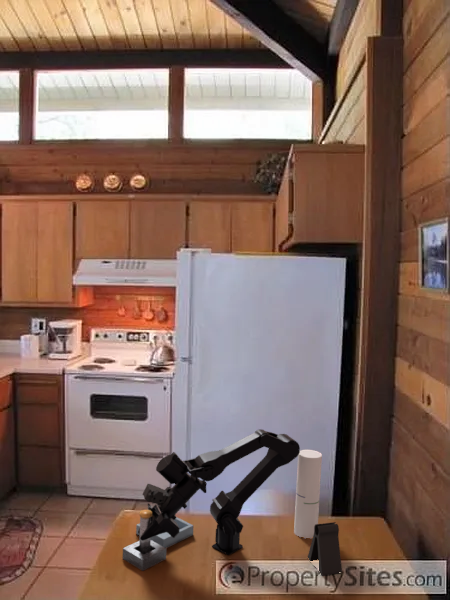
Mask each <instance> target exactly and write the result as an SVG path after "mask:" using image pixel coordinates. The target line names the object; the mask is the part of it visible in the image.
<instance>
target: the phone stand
mask: <svg viewBox="0 0 450 600" xmlns="http://www.w3.org/2000/svg"><path fill="white" fill-rule="evenodd" d="M339 531H340V528H339V524H338V523H336V521H334V522H325V523H318V524H315V526H314V535H313V538H311V543H310V547H309V550H308V555H307V557H308V558H309V560H310V561H313V560H317V559H318V560H319V571H320V573H321V575H320V576H321V577H323V576H330V575H331V574H332V575H336V574H335V573H338V574H340V573H339V572H342V573H343V568H342V559H341V548H340V539H339V533H340V532H339ZM308 558H307V559H308ZM309 560H308V561H309ZM310 561H309V562H310ZM320 573H319V574H320Z"/></svg>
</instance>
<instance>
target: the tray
mask: <svg viewBox="0 0 450 600" xmlns="http://www.w3.org/2000/svg"><path fill="white" fill-rule="evenodd" d="M174 521H175V522H177V524H178V526H179V534H178V535H177V536H176V537H175V538H173V537H172V536H171V535H169V534H168V533H167V532H165V533H162V534H159V535H156V536H153V537H151V540H152V541H154V542H156V543H157V544H159V545H161V546H163V547H165V548H166V549H168V548H170V547H171V546H173V545H176V544H177V543H180V542H182V541H184V540H186V539H188V538H190V537H192V536H193V535H194V524H191V523H189V522H188V521H186V520H183V519H182V518H180V517H177V518H176V519H175V520H174ZM135 526H136V528H135V529H136V530H135V535H136V534H137V535H136V536H138V535H139V536H138V537H140V534H139V533H138V531H139V529H140V522H139V523H137V524H136V525H135Z"/></svg>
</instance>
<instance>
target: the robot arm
mask: <svg viewBox="0 0 450 600" xmlns="http://www.w3.org/2000/svg"><path fill="white" fill-rule="evenodd" d="M264 447H265V448H267V449H268V450H267V452H266V455H265V456H264V457H263V458H262V459H261V460H260V461H259V463H257V464H256V465H255V466H254V467H253V469H251V470H250V472H248V474H246V476H244V478H243V479H242V480H241V481H240V482H239V483H238V484H237V485H236V486H235V487H234V488H233V489H232V490H231V491H228V492H225V491H224V490H220V492H219V493H218V495H217V496H216V497H215V498H212V499H211V501H212V502H211V504H210V506H209V513H210V515H211V516H212V518H213V519H214V521H215V522H216V529H215V541H214V542H215V543H213V544H212V546H211V547H212V548H213V549H215V550H217V551H219V552H221V553H223V554H225V555H226V556H230V555H232V554H234V553H235V552H237V551H239V550H241V549H243V547H244V546H243V544H241V543H240V541H241V540H240V538H241V535H240V534H241V533H242V531H243V528H244V525H243V523H242V522H241V521H240V520H239V517H240V514H241V513H242V509H243V506H244V504H245V503H246V502H247V501H248V500H249V499H250V498H251V497H252V496H253V494H254V493H255V492H256V491H257V490H258V489H259V488H261V486H262V485H263V484H264V483H265V482H266V481H267V479H268V478H269V477H271V476H272V475H273V474H274V472H276V470H277V469H279V468H280V467H283V466H286V465H288V464H290V463H291V462H292V461H293V460H295V459H296V458H298V455H299V453H300V451H301V450H300V449H301V448H300V444H299V442H298V441H297V440H295V439H294V438H293V437H291V436H289V435H288V434H285V433H279V434H277V433H275V432H271V431H266V430H264V429H262V428H261V429H259V428H258V429H257V430H256V431H254V432H253V433H251V434H249V435H247V436H246V437H244V438H242V439H240V440H237V441H236V442H234V443H231V444H230V445H228V446H226V447H224V448H222V449H219V450H214V451H213V450H212V451H207V452H204V453H201V454H198V455H197V456H196V457H193V458H190V459H185V460H182V459H181V458H180V457H179V456H178V454H177V453H176V452H175V451H173V452H172V453H170V454H169V455H166V456H164V457H162V458H161V459H160V460H159V462H157V464H156V466H155V471H156V472H157V473H158V474H159V475H160V476H162V478H164V479H165V481H167V482H168V483H169V484H170V485H173V486H172V487H171V486H170V485H169V486H167V487H166V488H165V489H163V488H161V487H159V486H156V485H153V484H151V483H147V484H146V486H145V488H144V490H143V493H142V496H143V497H144V498H143V499H144V500H145V501H146V502H148V503H147V510H150V511H152V517H151V524H150V525H149V526H148V527H147V529H146V530H145V531H144V533H143V534H142V535H141V537H140V536H139V540H140V539H141V540H142V541H143V540H146V539H148V538H151V537H153V536H156V535H159V534H162V533H165V532H167V533H168V534H169V535H171V536H172V537H173V538H175V537H176V536H177V535H178V534H179V526H178V524H177V522H175V521H174V520H175V519H176V518H178V517H177V515H176V514H178V512H179V511H180V510H181V509H182V508H183V509H186V508H187V507H188V505H187V503H188V502H189V501H190V499H192V498H193V497H194V495H196V493H197V492H198V491H201V492H202V493H204V494H206V493H207V486H208V485H207V482H211V481H213V480H214V479H216V478H217V477H219V476H220V475H221V474H223V472H224V471H225V470H226V468H227V467H228V466H230V465H231V464H233V463H235V462H237V461H239V460H241V459H243V458H245V457H247V456H249V455H251V454H253V453H254V452H256V451H258V450H260V449H263V448H264ZM138 533H139V534H140V529H139V531H138Z"/></svg>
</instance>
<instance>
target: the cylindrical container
mask: <svg viewBox="0 0 450 600" xmlns="http://www.w3.org/2000/svg"><path fill="white" fill-rule="evenodd" d="M322 459H323V454H322V453H321V452H320V451H317V450H314V449H301V450H300V453H299V455H298V456H297V471H296V472H297V473H296V485H295V486H296V489H295V503H294V506H295V509H294V524H293V525H294V528H293V534H294V535H295V536H297V537H298V536H299V537H298V538H301V537H304V538H303V539H306V538H310V539H313V538H312V537H313V535H314V526H315V524H319V510H320V509H319V508H320V491H321V477H322V464H323V463H322Z"/></svg>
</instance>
